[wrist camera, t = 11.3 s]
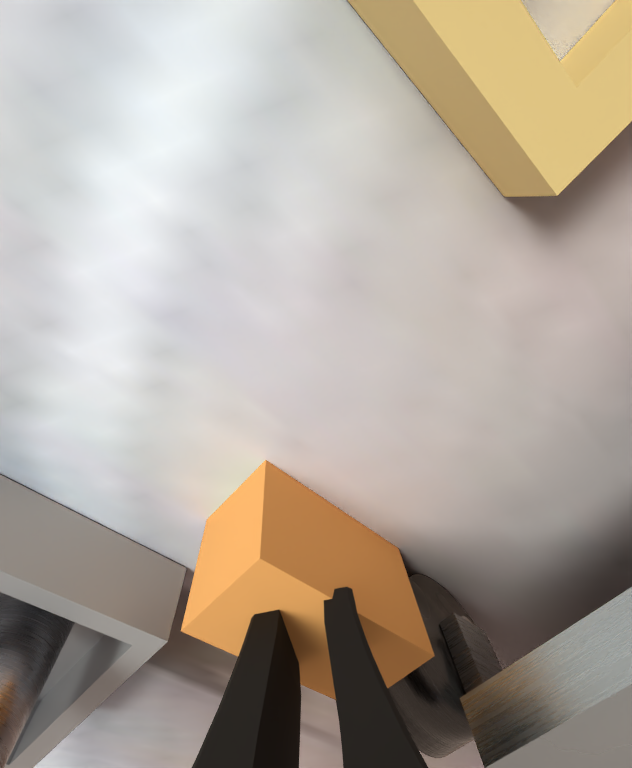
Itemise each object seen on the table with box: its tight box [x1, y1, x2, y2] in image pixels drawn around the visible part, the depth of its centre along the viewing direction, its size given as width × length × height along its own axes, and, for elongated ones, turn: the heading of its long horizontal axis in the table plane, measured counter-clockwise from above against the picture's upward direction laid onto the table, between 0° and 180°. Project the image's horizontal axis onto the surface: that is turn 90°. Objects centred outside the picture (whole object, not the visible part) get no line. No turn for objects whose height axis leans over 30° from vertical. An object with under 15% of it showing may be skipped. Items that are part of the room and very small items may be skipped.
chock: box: [181, 460, 435, 700], centre depth 12 cm, size 6×3×4 cm, turn 48°
